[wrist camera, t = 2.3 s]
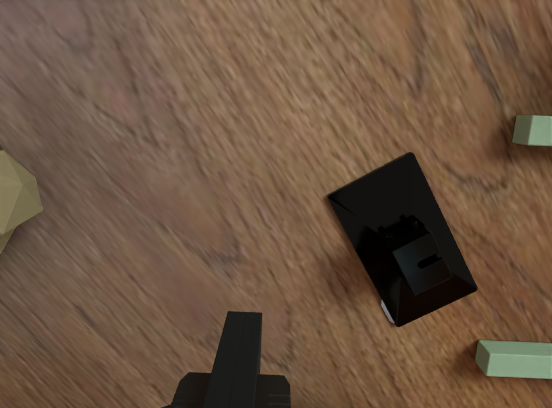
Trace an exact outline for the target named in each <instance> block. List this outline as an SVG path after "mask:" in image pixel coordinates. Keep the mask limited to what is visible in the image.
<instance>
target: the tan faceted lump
mask: <svg viewBox="0 0 552 408" xmlns="http://www.w3.org/2000/svg"><path fill="white" fill-rule="evenodd" d="M41 211H43V207H42V203H41V199H40V194H39V190H38V185H37V181H36V177H34V176H33V175H32V174H31V173H30V172H29V171H27V170H26V169H25V168H24V167H23V166H21V165H20V164H19V163H18V162H17V161H16V160H14V159H13V158H12V157H11V156H10V155H8V154H7V153H6V152H5V151H4V150H3V149H2V147H1V145H0V254H1V252H2V251H3V249H4V247H5V245H6V244H7V242H8V240H9V239H10V237H11V235H12V233H13V232H14V230H15V228H16V226H18V225H20V224H21V223H23V222H25V221H26V220H28V219H30V218H31V217H33V216H35V215H36V214H38V213H40V212H41Z"/></svg>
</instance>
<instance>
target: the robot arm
mask: <svg viewBox="0 0 552 408" xmlns="http://www.w3.org/2000/svg"><path fill="white" fill-rule="evenodd" d="M261 332H262V313H255V312H232V311H228V313H227V317H226V321H225V324H224V328H223V332H222V336H221V339H220V343H219V347H218V350H217V354H216V358H215V362H214V365H213V369H212V373H194V372H189V373H188V374H187V375H186V376H185V377H183V378H182V379H181V380H180V382H179V385H178V387H177V390H176V393H175V395H174V398H173V402H172V403H171V405H168V406H165V407H162V408H291V402H290V384H289V382H288V381H287V379H286V378H285V376H284V375H262V374H260V360H261Z"/></svg>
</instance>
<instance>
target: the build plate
mask: <svg viewBox="0 0 552 408" xmlns="http://www.w3.org/2000/svg"><path fill="white" fill-rule="evenodd" d="M328 199H329V201H330V203H331V205H332V207H333V209H334V211H335V213H336V214H337V216H338V218H339V220H340V222H341V224H342V226H343V228H344V229H345V231H346V233H347V235H348V237H349V239H350V241H351V243H352V244H353V246H354V248H355V250H356V252H357V254H358V256H359V258H360V259H361V261H362V263H363V265H364V267H365V269H366V271H367V273H368V274H369V276H370V278H371V280H372V282H373V284H374V286H375V288H376V289H377V291H378V293H379V295H380V297H381V299H382V302H381V306H382V308H383V310H384V312H385V313H386V315H387V317H388V319H389V321H391V322H393V323H394V324H395V325H396V326H397V327H401V326H403V325H405V324H407V323H409V322H411V321H413V320H415V319H418V318H420V317H422V316H424V315H426V314H428V313H430V312H433V311H435V310H437V309H439V308H441V307H443V306H445V305H447V304H450V303H452V302H454V301H456V300H458V299H460V298H462V297H464V296H467V295H469V294H471V293H473V292H475V291H476V290H477V286H476V284H475V282H474V280H473V278H472V275H471V273H470V271H469V269H468V267H467V265H466V263H465V261H464V259H463V256H462V254H461V252H460V250H459V248H458V246H457V244H456V242H455V240H454V237H453V235H452V233H451V231H450V229H449V227H448V225H447V223H446V221H445V219H444V216H443V214H442V212H441V210H440V208H439V206H438V204H437V202H436V200H435V197H434V195H433V193H432V191H431V189H430V187H429V185H428V183H427V181H426V178H425V176H424V174H423V172H422V170H421V168H420V166H419V164H418V162H417V160H416V157H415V155H414V154H413V153H411V152H408V153H406V154H404V155H403V156H401V157H399V158H397V159H395V160H393V161H391V162H389V163H387V164H385V165H384V166H382V167H380V168H378V169H376V170H374V171H372V172H370V173H368V174H366V175H364V176H363V177H361V178H359V179H357V180H355V181H353V182H351V183H349V184H347V185H345V186H344V187H342V188H340V189H338V190H336V191H334V192H332V193H330V194H329V195H328Z"/></svg>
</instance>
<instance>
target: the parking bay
mask: <svg viewBox="0 0 552 408" xmlns="http://www.w3.org/2000/svg"><path fill="white" fill-rule="evenodd" d="M512 143H516V144H523V145H534V146H552V116H535V115H517V116H516V122H515V128H514V134H513V140H512ZM475 362H476V363H477V365H478V366H479V367H480V369H481V370H482V371H483V373H484V374H485V375H486V376H497V377H520V378H542V379H552V343H534V342H511V341H489V340H478V345H477V351H476V357H475Z"/></svg>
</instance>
